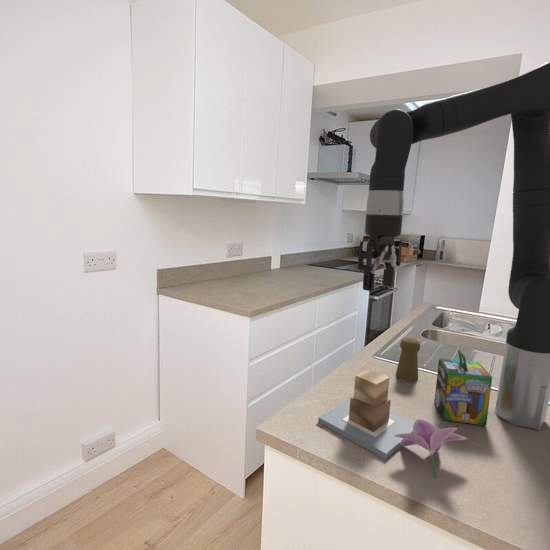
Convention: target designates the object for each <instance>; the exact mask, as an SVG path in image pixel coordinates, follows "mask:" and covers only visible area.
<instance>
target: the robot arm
mask: <svg viewBox="0 0 550 550" xmlns="http://www.w3.org/2000/svg"><path fill="white" fill-rule="evenodd" d="M508 115H510V118H511V128H512V137H513V138H512V139H513V185H512V186H513V187H512V247H513V249H512V260H511V268H510V273H509V274H510V275H509V281H508V289H507V290H508V292H507V293H508V297H509V300H510V302H511V304H512V305H513V306H514V307H515V308H516V309H517V310H518V312H517V317H516V323H515V325H514V327H511V328H509V329H508V330H507V333H506V338H505V345H504V352H503V359H502V363H501V364H502V365H501V371H500V376H499V377H500V378H499V382H498V390H497V396H496V402H495V408H494V410H495V413H496V414H497V416H498V417H499V418H501V419H503V420H504V421H506V422H508V423H510V424H513V425H516V426H519V427H522V428H523V427H524V428H528V429H529V428H531V429H535V430H538V431H540V430H541V428H542V427H543V425H544V424H545V421H546V417H547V412H548V411H547V410H548V405H549V400H550V61H547V62H545V63H543V64H542V65H540V66H538V67H536V68H534V69H533V70H530V71H527V72H526V73H523V74H521V75H519V76H516V77H513V78H510V79H507V80H503V81H502V82H499V83H496V84H493V85H489V86H486V87H482V88H479V89H478V88H477V89H474V90H471V91H466V92H463V93H458V94H455V95H452V96H448V97H447V96H446V97H444V98H440V99H437V100H433V101H429V102H426V103H425V104H422V105H421V106H419V107H417V108H415V109H413V110H408V111H407V112H406V111H404V110H402V109H400V108H399V109H397V108H396V109H391V110H389V111H386V112H385V113H384V114H382V116H381V117H379V118H378V119H377V121H376V122H375V123H374V124H372V127H371V130H370V132H369V141H370V143H371V145H372V147H373V148H374V149H376V150H375V160H374V162H373V164H372V165H371V168H370V175H369V186H368V195H367V199H366V207H365V209H366V210H365V224H364V235H366V236H369V240H368V241H365V240H361V241H360V242H359V248H358V256H357V257H358V259H357V268H356V269H357V270H358V271H361V272H362V273H363V278H362V281H363V282H362V289H363V290H364V291H368V292H372V291H374V289H375V276H376V275H375V273H376V270H377V267H378V266H380V265H381V264H382V265H383V267H384V269H383V274H382V275H383V277H382V285H383V286H386V287H392V286H394V278H395V277H394V276H395V270H397V267H400V266H401V262H402V245H403V244H402V243H403V241H402V240H401V239H395V237H400V236H401V235H402V229H403V216H404V207H405V206H404V201H405V199H404V191H405V178H406V166H407V163H408V160H409V157H410V151H411V148H412V145H413V144H416V143H419V142H422V141H426V140H431V139H435V138H436V139H437V138H440V137H444V136H448V135H451V134H455V133H459V132H461V131H464V130H468V129H470V128H473V127H476V126H477V127H478V126H479V125H481V124H484V123H487V122H489V121H492V120H495V119H499V118H502V117H504V116H508Z"/></svg>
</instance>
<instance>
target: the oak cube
mask: <svg viewBox="0 0 550 550" xmlns="http://www.w3.org/2000/svg"><path fill="white" fill-rule="evenodd" d="M390 378H391V377H390V376H387V375H385V374H382V373H379V372H377V371H374V370H373V369H369V368H367V369H366V370H363V371H362V372H360V373H358V374H356V375H355V378H354V387H353V388H354V389H353V396H354V398H355V399H358V400H360V401H362V402H364V403H366V404H368V405H370V406H373V407H376V406H378V405H379V404H381V403H382V402H384V401H386V400H387V398H388V399H389V396H388V395H389V388H390V387H389V386H390Z"/></svg>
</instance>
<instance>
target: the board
mask: <svg viewBox="0 0 550 550" xmlns="http://www.w3.org/2000/svg"><path fill="white" fill-rule="evenodd" d="M349 409H350V398H349V399H348V400H346V401H344V402H342V403H340V404H339V405H337V406H336V407H333V408H332V409H330V410H329V411H327V412H325V413H323V414H322V415H320V416H318V419H317V420H318V421H317V422H318V423H319V424H320V425H323V426H325V427H326V428H328V429H329V430H331V431H333V432H335V433H337V434H339V435H341V436H343V437H344V438H346V439H348V440H350V441H351V442H353V443H355V444H356V445H359V446H360V447H362V448H365V450H368V451H370V452H371V453H373V454H375V455H377V456H378V457H380V458H382V459H384V460H387V459H388V458H389V457H391V456H392V454H394V453H395V452H397V450H398V449H400V448H402V447H401V443H402V442H403V441H404V440H405V439H403V438H399V437H395V435H398V434H405V433H413V425H414V423H415V421H411V420H410V419H407V418H404V417H402V416H400V415H398V414H396V413H393V412H391V411H390V412H389V421H388V422H387V423H386V424H384V425H383V426H381V427H380V428H379V429H377V430H376V431H375V432H372V431H370V430H368V429H366V428H364V427H362V426H360V425H358V424H357V423H355V422H353V421H351V420H349Z"/></svg>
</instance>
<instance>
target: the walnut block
mask: <svg viewBox="0 0 550 550" xmlns="http://www.w3.org/2000/svg"><path fill="white" fill-rule="evenodd" d="M349 399H350V409H349V420H351V421H353V422H355V423H357V424H358V425H360V426H362V427H364V428H366V429H368V430H370V431H372V432H375V431H376V430H377V429H379V428H380V427H381V426H383V425H384V424H386V423H387V422H388V421H389V412H391V403H392V402H391V400H392V399H390V398H389V397H388V398H387V400H386V401H384V402H382V403H381V404H379V405H378V406H376V407H373V406H370V405H368V404H366V403H364V402H362V401H360V400H358V399H355V398H354V395H352V396H351V397H350V398H349Z"/></svg>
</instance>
